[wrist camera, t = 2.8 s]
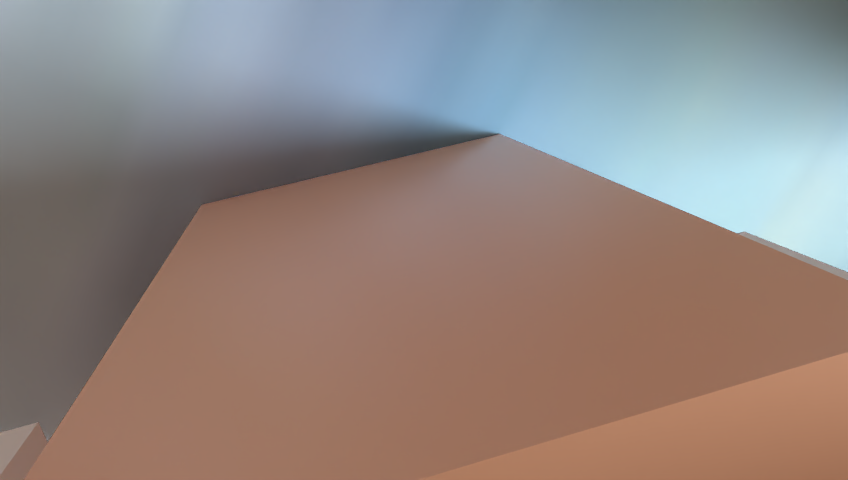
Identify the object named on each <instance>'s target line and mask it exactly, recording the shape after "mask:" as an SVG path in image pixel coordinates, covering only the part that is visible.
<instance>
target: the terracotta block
mask: <svg viewBox="0 0 848 480" xmlns="http://www.w3.org/2000/svg"><path fill="white" fill-rule="evenodd" d="M24 480H848V280H846V279H844V278H841V277H839V276H837V275H834V274H832V273H830V272H827V271H825V270H822V269H820V268H818V267H815V266H813V265H811V264H808V263H806V262H803V261H801V260H799V259H796V258H794V257H792V256H789V255H787V254H784V253H782V252H780V251H777V250H775V249H773V248H770V247H768V246H765V245H763V244H761V243H758V242H756V241H753V240H751V239H749V238H746V237H744V236H742V235H739V234H737V233H734V232H732V231H730V230H727V229H725V228H723V227H720V226H718V225H715V224H713V223H711V222H708V221H706V220H704V219H701V218H699V217H696V216H694V215H692V214H689V213H687V212H685V211H682V210H680V209H677V208H675V207H673V206H670V205H668V204H665V203H663V202H661V201H658V200H656V199H654V198H651V197H649V196H646V195H644V194H642V193H639V192H637V191H635V190H632V189H630V188H627V187H625V186H623V185H620V184H618V183H616V182H613V181H611V180H608V179H606V178H604V177H601V176H599V175H597V174H594V173H592V172H589V171H587V170H585V169H582V168H580V167H577V166H575V165H573V164H570V163H568V162H566V161H563V160H561V159H558V158H556V157H554V156H551V155H549V154H547V153H544V152H542V151H539V150H537V149H535V148H532V147H530V146H528V145H525V144H523V143H520V142H518V141H516V140H513V139H511V138H509V137H506V136H504V135H501V134H497V135H493V136H489V137H484V138H480V139H476V140H472V141H468V142H463V143H459V144H455V145H451V146H446V147H442V148H438V149H434V150H430V151H425V152H421V153H417V154H413V155H409V156H404V157H400V158H396V159H392V160H388V161H383V162H379V163H375V164H371V165H366V166H362V167H358V168H354V169H350V170H345V171H341V172H337V173H333V174H329V175H324V176H320V177H316V178H312V179H308V180H303V181H299V182H295V183H291V184H286V185H282V186H278V187H274V188H270V189H265V190H261V191H257V192H253V193H249V194H244V195H240V196H236V197H232V198H227V199H223V200H219V201H215V202H211V203H206V204H202V205H201V206H200V208H199V209H198V211H197V212H196V214H195V215H194V217H193V219H192V220H191V222H190V223H189V225H188V226H187V228H186V229H185V231H184V232H183V234H182V236H181V237H180V239H179V240H178V242H177V243H176V245H175V246H174V248H173V249H172V251H171V253H170V254H169V256H168V257H167V259H166V260H165V262H164V263H163V265H162V267H161V268H160V270H159V271H158V273H157V274H156V276H155V277H154V279H153V280H152V282H151V284H150V285H149V287H148V288H147V290H146V291H145V293H144V294H143V296H142V297H141V299H140V301H139V302H138V304H137V305H136V307H135V308H134V310H133V311H132V313H131V314H130V316H129V318H128V319H127V321H126V322H125V324H124V325H123V327H122V328H121V330H120V331H119V333H118V335H117V336H116V338H115V339H114V341H113V342H112V344H111V345H110V347H109V349H108V350H107V352H106V353H105V355H104V356H103V358H102V359H101V361H100V362H99V364H98V366H97V367H96V369H95V370H94V372H93V373H92V375H91V376H90V378H89V379H88V381H87V383H86V384H85V386H84V387H83V389H82V390H81V392H80V393H79V395H78V396H77V398H76V400H75V401H74V403H73V404H72V406H71V407H70V409H69V410H68V412H67V413H66V415H65V417H64V418H63V420H62V421H61V423H60V424H59V426H58V427H57V429H56V431H55V432H54V434H53V435H52V437H51V438H50V440H49V441H48V443H47V444H46V446H45V448H44V449H43V451H42V452H41V454H40V455H39V457H38V458H37V460H36V461H35V463H34V465H33V466H32V468H31V469H30V471H29V472H28V474H27V475H26V477H25V478H24Z"/></svg>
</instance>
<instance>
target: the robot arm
mask: <svg viewBox="0 0 848 480" xmlns="http://www.w3.org/2000/svg"><path fill="white" fill-rule="evenodd" d="M737 234H739V235H742V236H744V237H746V238H749V239H751V240H753V241H756V242H758V243H761V244H763V245H765V246H768V247H770V248H773V249H775V250H777V251H780V252H782V253H784V254H787V255H789V256H792V257H794V258H796V259H799V260H801V261H803V262H806V263H808V264H811V265H813V266H815V267H818V268H820V269H822V270H825V271H827V272H830V273H832V274H834V275H837V276H839V277H841V278H844V279H846V280H848V272H846V271H843V270H841V269H838V268H836V267H833V266H831V265H828V264H826V263H823V262H820V261H818V260H815V259H813V258H810V257H808V256H805V255H803V254H800V253H798V252H795V251H792V250H790V249H787V248H785V247H782V246H780V245H777V244H775V243H772V242H770V241H767V240H764V239H762V238H759V237H757V236H754V235H752V234H749V233H747V232H741V233H737ZM47 443H48V442H47V440H46V438H45V436H44V433H43V431H42V429H41V427H40V425H39V423H38V422H37V423H33V424H29V425H26V426H22V427H18V428H15V429H11V430H7V431H3V432H0V480H24V478H25V477H26V475H27V474H28V472H29V471H30V469H31V468H32V466H33V465H34V463H35V461H36V460H37V458H38V457H39V455H40V454H41V452H42V451H43V449H44V448H45V446H46V444H47Z"/></svg>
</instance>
